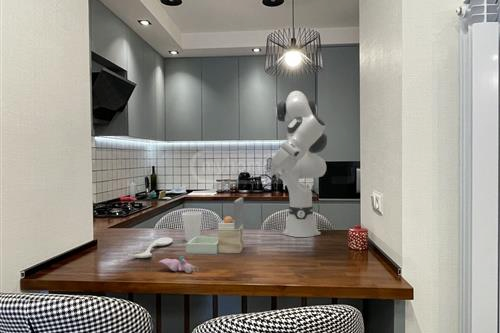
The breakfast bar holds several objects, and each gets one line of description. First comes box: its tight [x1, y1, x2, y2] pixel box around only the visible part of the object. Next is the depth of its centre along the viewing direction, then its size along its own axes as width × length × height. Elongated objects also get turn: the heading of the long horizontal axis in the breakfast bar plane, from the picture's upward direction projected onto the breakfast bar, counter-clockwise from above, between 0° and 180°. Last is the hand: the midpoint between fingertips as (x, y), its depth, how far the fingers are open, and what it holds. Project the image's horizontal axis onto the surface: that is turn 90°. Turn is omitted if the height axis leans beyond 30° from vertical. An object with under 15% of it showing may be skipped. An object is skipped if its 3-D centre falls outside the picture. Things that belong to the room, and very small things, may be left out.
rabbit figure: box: [158, 255, 199, 275], centre depth 120 cm, size 6×6×15 cm
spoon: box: [127, 236, 174, 259], centre depth 148 cm, size 9×32×4 cm, turn 175°
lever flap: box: [217, 197, 245, 231], centre depth 146 cm, size 9×14×12 cm, turn 171°
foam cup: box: [181, 211, 203, 242], centre depth 166 cm, size 10×9×13 cm
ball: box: [223, 215, 234, 223], centre depth 146 cm, size 4×4×4 cm
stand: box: [217, 226, 244, 254], centre depth 146 cm, size 9×9×9 cm
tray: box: [185, 236, 218, 255], centre depth 148 cm, size 13×13×4 cm
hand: (273, 176), depth 142 cm, fingers open, 8 cm apart
